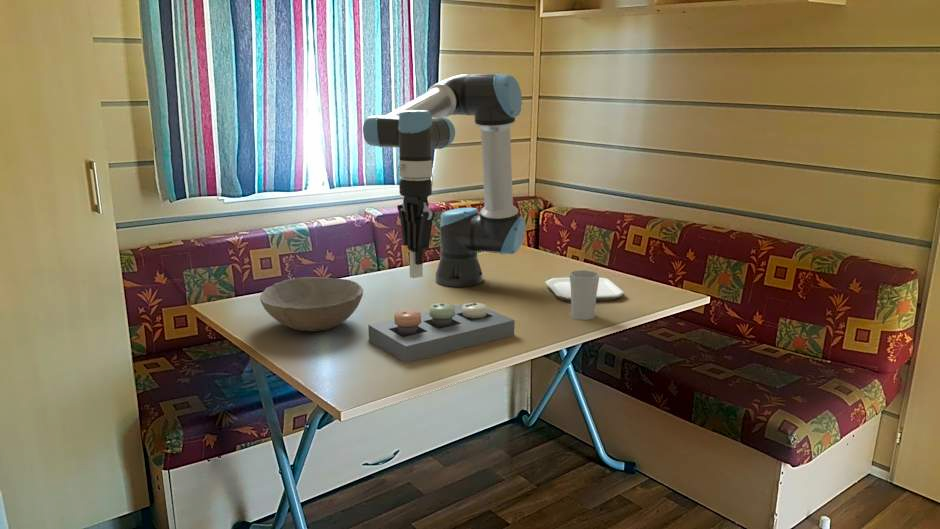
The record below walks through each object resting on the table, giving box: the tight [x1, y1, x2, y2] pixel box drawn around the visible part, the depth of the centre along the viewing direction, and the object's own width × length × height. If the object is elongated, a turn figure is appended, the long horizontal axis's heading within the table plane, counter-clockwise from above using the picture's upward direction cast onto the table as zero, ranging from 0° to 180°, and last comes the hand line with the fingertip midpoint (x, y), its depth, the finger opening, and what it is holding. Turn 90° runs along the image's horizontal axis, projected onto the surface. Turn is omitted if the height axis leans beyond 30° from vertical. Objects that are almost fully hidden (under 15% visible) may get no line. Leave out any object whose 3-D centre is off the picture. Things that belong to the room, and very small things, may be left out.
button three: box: [462, 302, 488, 321], centre depth 188 cm, size 6×6×5 cm
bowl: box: [259, 276, 364, 332], centre depth 189 cm, size 26×26×10 cm
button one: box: [393, 309, 422, 337], centre depth 176 cm, size 6×6×5 cm
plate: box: [544, 276, 625, 302], centre depth 222 cm, size 21×21×2 cm
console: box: [367, 301, 516, 363], centre depth 183 cm, size 18×32×4 cm, turn 126°
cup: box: [569, 269, 600, 321], centre depth 199 cm, size 8×8×12 cm
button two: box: [428, 302, 456, 329], centre depth 182 cm, size 6×6×5 cm
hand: (416, 276), depth 174 cm, fingers closed
